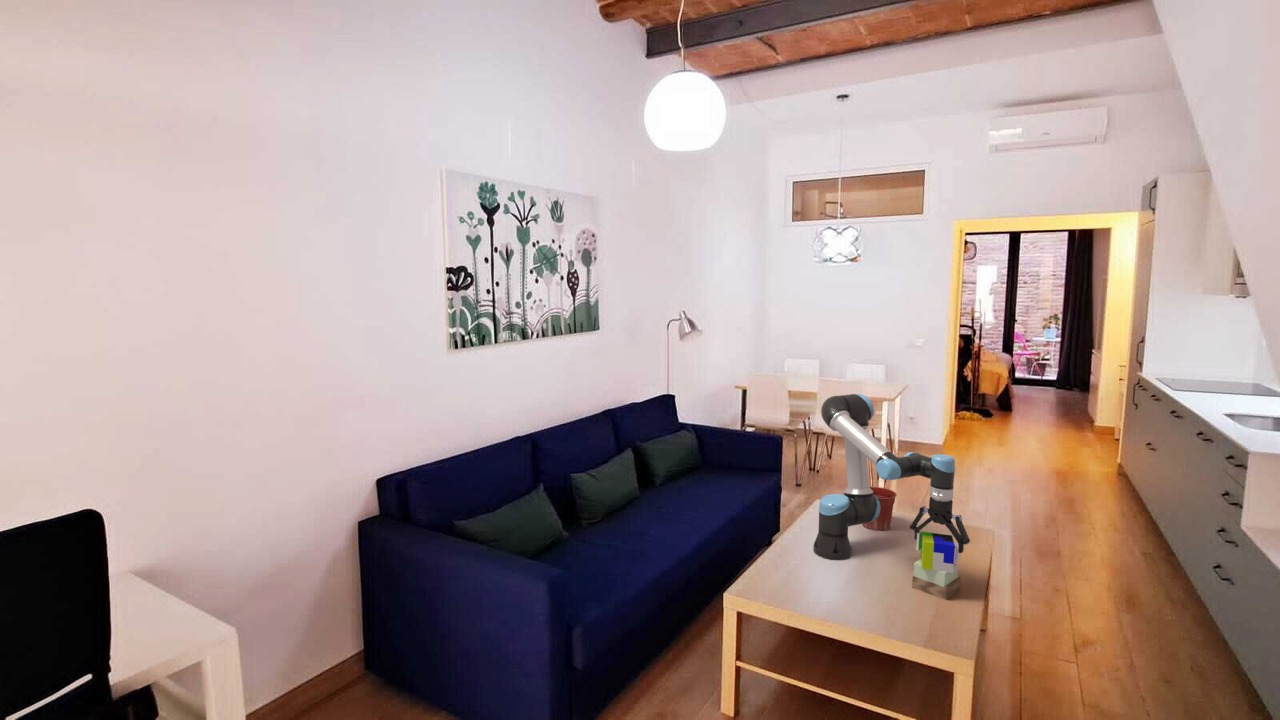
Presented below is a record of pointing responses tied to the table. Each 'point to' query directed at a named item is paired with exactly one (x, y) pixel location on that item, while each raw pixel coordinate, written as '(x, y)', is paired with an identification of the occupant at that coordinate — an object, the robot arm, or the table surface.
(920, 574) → the top slab
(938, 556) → the puzzle toy
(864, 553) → the table surface
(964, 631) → the table surface
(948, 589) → the bottom slab
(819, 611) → the table surface
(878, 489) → the flower pot
